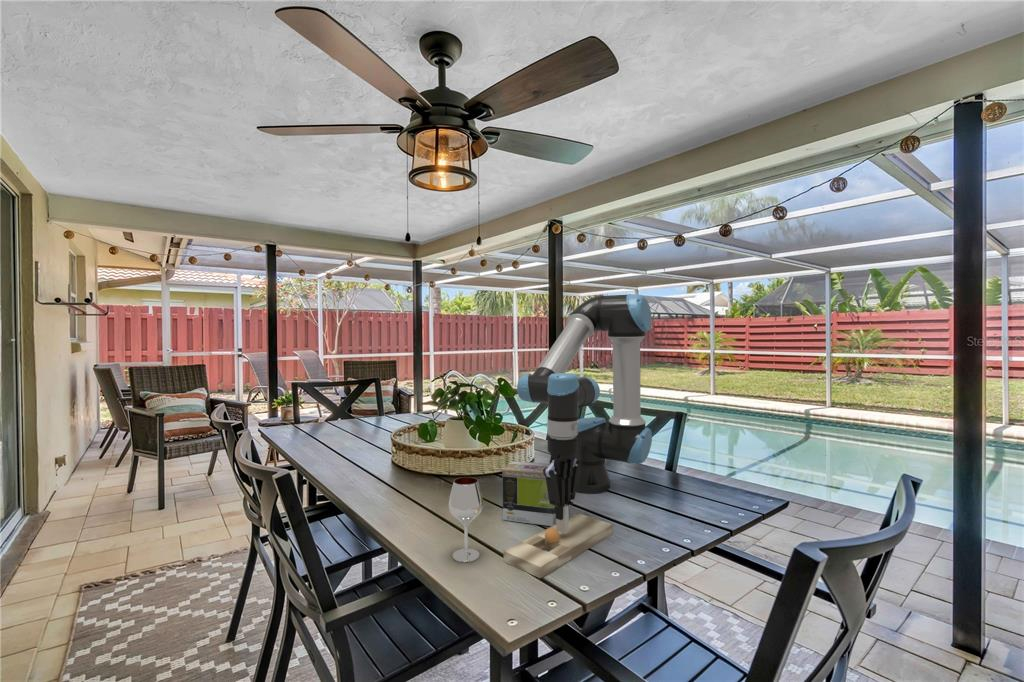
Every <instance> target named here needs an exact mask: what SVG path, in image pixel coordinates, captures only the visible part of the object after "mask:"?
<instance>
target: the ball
mask: <svg viewBox="0 0 1024 682" xmlns="http://www.w3.org/2000/svg"><path fill="white" fill-rule="evenodd" d="M548 528H549V527H548ZM548 528H546V529H547V530H546V529H545V530H546V532H545V539H546V540H547V542H549V543H556V542H557V541H558V540H559V532H558V531H557V530H556V529H555V528H549V529H548Z"/></svg>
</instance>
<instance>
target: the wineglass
mask: <svg viewBox="0 0 1024 682" xmlns="http://www.w3.org/2000/svg"><path fill="white" fill-rule="evenodd" d="M480 486H481V485H480V483H479V479H477V478H475V477H471V476H464V477H463V476H462V477H458V478H456V479H454V480H453V483H452V487H451V490H450V494H449V498H448V499H449V500H448V511H449V512H450V513H451V515H452V516H453V517H454V518H455V519H457V521H459V522H460V523H461V524H462V525H463V527H464V531H463V532H464V538H463V539H464V542H463V543H464V544H463V545H464V548H461V549H458V550H455V551H454V552H453V553H452V559H454V561H455V562H460V563H470V562H473V561H476V560H477V559H479V558H480V552H479V551H478V550H476V549H475V548H469V541H468V539H469V537H468V533H469V532H468V531H469V528H468V527H469V525H470V523H471V522H473V520H475V519H476V518H477V517H478V516H479V515H480V514H481V512H482V510H483V507H484V498H483V493H482V490H481V487H480Z"/></svg>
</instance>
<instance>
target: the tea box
mask: <svg viewBox="0 0 1024 682" xmlns="http://www.w3.org/2000/svg"><path fill="white" fill-rule="evenodd" d="M549 465H550V463H544V462H543V463H541V462H534V461H533V462H531V461H519V460H517V461H516V460H513V461H511V462H510V463H509V464H508V465H507V466H505V467H504V468H503V469H502V473H501V475H502V476H501V477H502V478H501V479H502V482H501V483H502V520H503V521H509V522H517V523H518V522H519V523H524V524H533V525H541V526H548V527H551V526H553V525H555V524H556V507H555V506H554V505H551V504H550V503H549V496H548V490H547V483H546V477H545V475H544V473H543V469H544V468H546V469H547V468H548V467H549Z"/></svg>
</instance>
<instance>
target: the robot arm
mask: <svg viewBox="0 0 1024 682" xmlns="http://www.w3.org/2000/svg"><path fill="white" fill-rule="evenodd" d="M652 317H653V316H652V311H651V306H650V304H649V301H648V300H647V298H646V297H645V296H644V295H642V294H635V293H633V294H630V293H629V294H610V295H596V296H594V297H590V298H588V299H586V300H585V301H583V302H581V303H580V304H579V305H578V306H577V307H576V308H575V309H574V310H573V311H571V313H570V314H569V316H568V317H567V319H566V321H565V327H564V329H562V331H561V333H560V334H559V335H558V337H557V339H556V340H555V341H554V343H553V344H552V346H551V347H550V348H549V351H548V352H547V354H546V355H545V356H544V357H543V359H542V360H541V362H540V363H539V364H538V367H537V368H536V370H535V371H534V372H533V373H532V374H530V373H529V374H523V375H522V376H520V378H519V379H518V380H517V385H516V390H517V391H516V393H517V396H518V397H519V399H521V401H524V402H528V403H532V404H536V403H537V404H547V424H546V425H547V426H546V427H547V435H548V437H547V448H546V449H547V452H548V453H549V454H550V458H549V464H550V465H549V467H548V468H547V469H546V468H544V469H543V473H544V475H545V477H546V483H547V490H548V496H549V503H550V504H551V505H554V506H555V507H556V523H555V524H556V530H557V531H560V532H563V533H567V532H568V531H569V517H570V506H573V505H574V502H573V501H574V500H575V499H576V493H581V494H600V493H604V492H607V491H609V490H610V489H611V478H610V476H609V472H608V469H607V465H606V460H610V461H616V462H622V463H627V464H635V465H636V464H637V465H639V464H640V465H641V464H643V463H645V461H646V460H647V458H648V456H649V454H650V451H651V449H652V448H651V447H652V442H653V433H652V429H650V428H649V427H646V419H644V418H643V417H642V416H641V411H642V410H641V409H642V408H641V342H642V341H643V339H645V338H646V332H649V331H650V330H651V329H652V322H653V318H652ZM595 332H607V337H608V339H609V340H610V341H611V342H612V393H613V394H612V396H613V397H612V399H613V400H612V401H613V402H612V404H613V405H612V407H613V408H612V409H613V411H612V413H613V414H612V416H611V417H610V418H609V419H608V423H606V422H607V420H606V418H605V417H600V416H597V417H596V416H593V417H583V418H579V409H580V408H584V407H588V406H590V405H592V404H594V403H595V402H597V401H598V400H599V398H600V395H601V390H600V385H599V384H598V382H597V381H596V380H595V379H593V378H592V377H586V376H585V377H583V376H581V377H579V376H578V375H577V373H576V374H575V373H572V372H571V373H569V372H567V371H568V369H569V367H570V365H571V364H572V363H573V361H574V359H575V357H576V356H577V354H578V352H579V351H580V350H581V348H582V346H583V345H584V343H585V341H587V340H586V339H589V338H590V337H591V336H593V334H594V333H595ZM566 372H567V373H566Z"/></svg>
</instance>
